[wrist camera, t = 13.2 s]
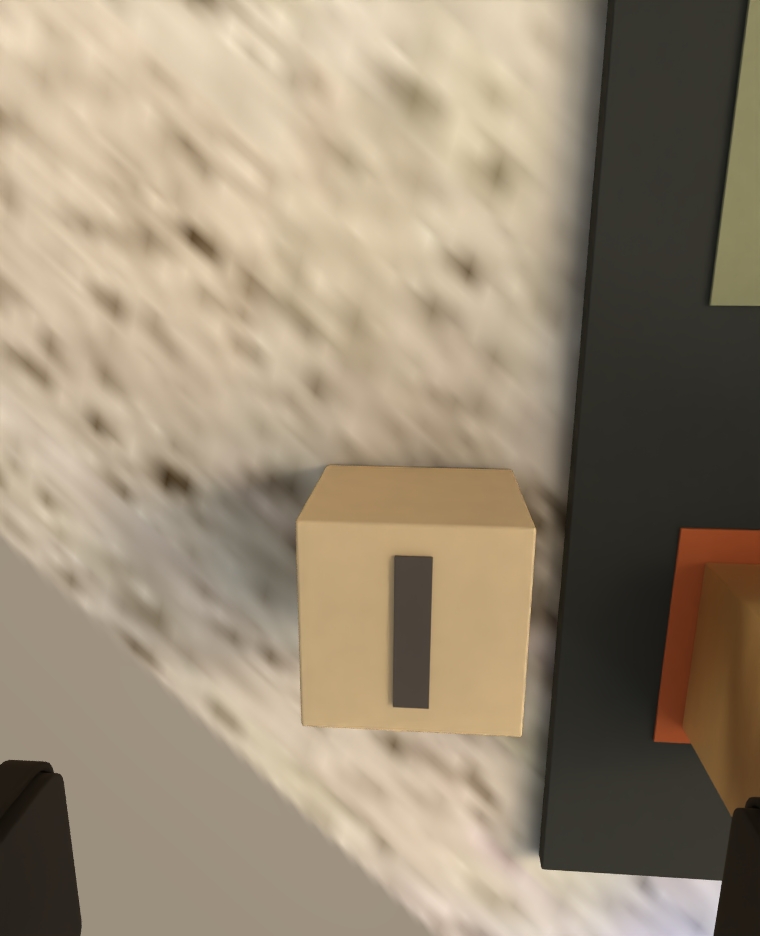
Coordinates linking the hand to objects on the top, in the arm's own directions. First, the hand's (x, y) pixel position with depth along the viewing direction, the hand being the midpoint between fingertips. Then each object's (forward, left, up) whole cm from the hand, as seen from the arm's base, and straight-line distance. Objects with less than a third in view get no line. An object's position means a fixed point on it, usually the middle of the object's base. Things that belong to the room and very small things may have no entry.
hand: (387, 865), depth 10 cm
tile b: (0, 0, -10) cm, 10 cm away
